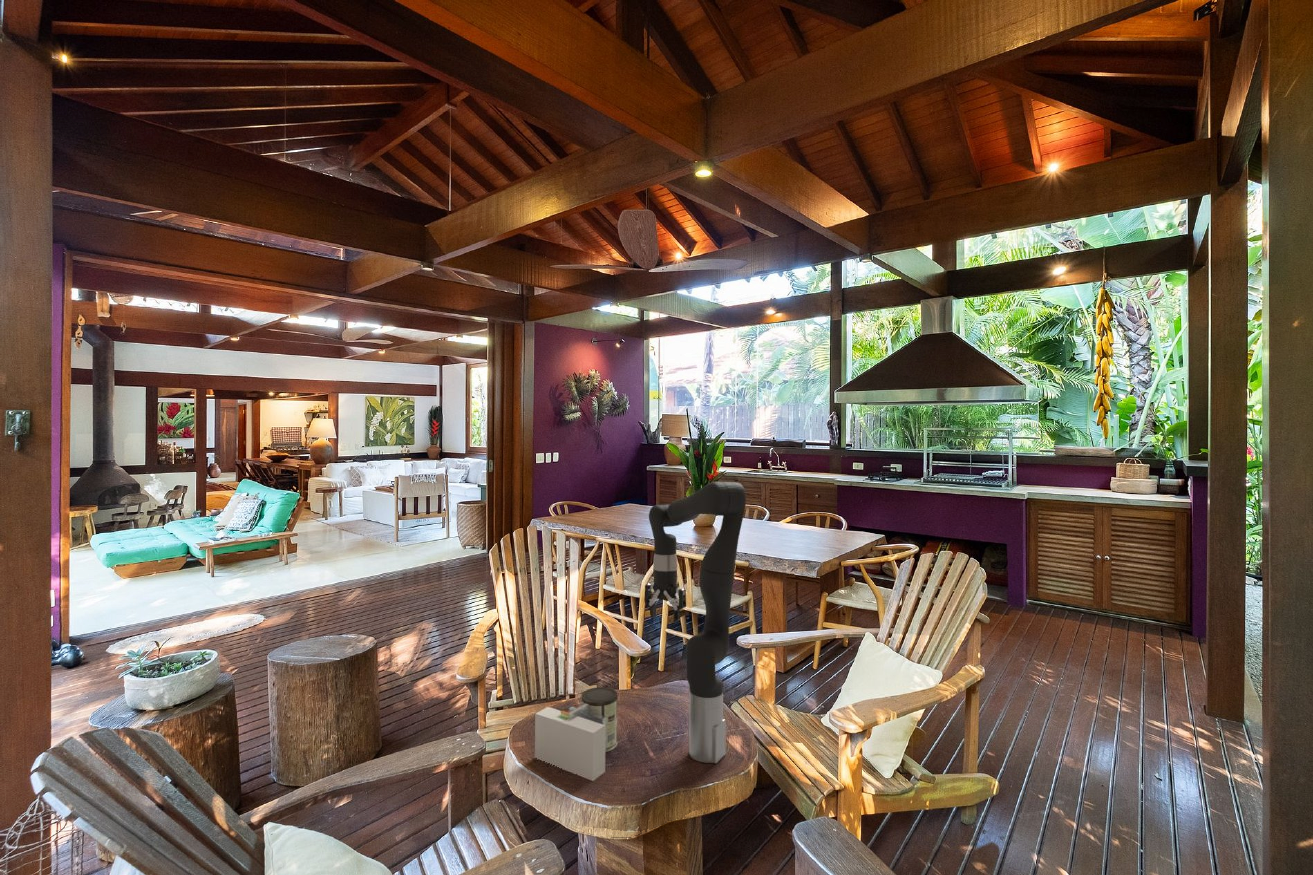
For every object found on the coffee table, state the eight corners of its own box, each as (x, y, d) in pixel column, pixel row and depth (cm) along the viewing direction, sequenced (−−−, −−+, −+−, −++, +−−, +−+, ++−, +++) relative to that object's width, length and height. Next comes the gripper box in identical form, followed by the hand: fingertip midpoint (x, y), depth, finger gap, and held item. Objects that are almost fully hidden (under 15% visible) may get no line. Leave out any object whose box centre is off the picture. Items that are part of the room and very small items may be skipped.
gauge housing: (605, 771, 153) (605, 724, 153) (593, 781, 148) (593, 732, 148) (547, 750, 163) (548, 706, 163) (534, 758, 159) (535, 713, 159)
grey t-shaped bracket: (605, 750, 159) (606, 708, 160) (587, 763, 153) (587, 719, 153) (571, 738, 166) (572, 697, 166) (552, 750, 159) (552, 708, 159)
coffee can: (589, 733, 173) (589, 685, 173) (622, 738, 170) (622, 689, 171) (575, 750, 163) (575, 699, 163) (610, 755, 160) (610, 703, 161)
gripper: (639, 567, 187) (639, 618, 186) (678, 572, 179) (678, 626, 179) (652, 563, 193) (652, 613, 193) (690, 568, 185) (690, 620, 185)
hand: (664, 619), depth 186 cm, fingers open, 8 cm apart
